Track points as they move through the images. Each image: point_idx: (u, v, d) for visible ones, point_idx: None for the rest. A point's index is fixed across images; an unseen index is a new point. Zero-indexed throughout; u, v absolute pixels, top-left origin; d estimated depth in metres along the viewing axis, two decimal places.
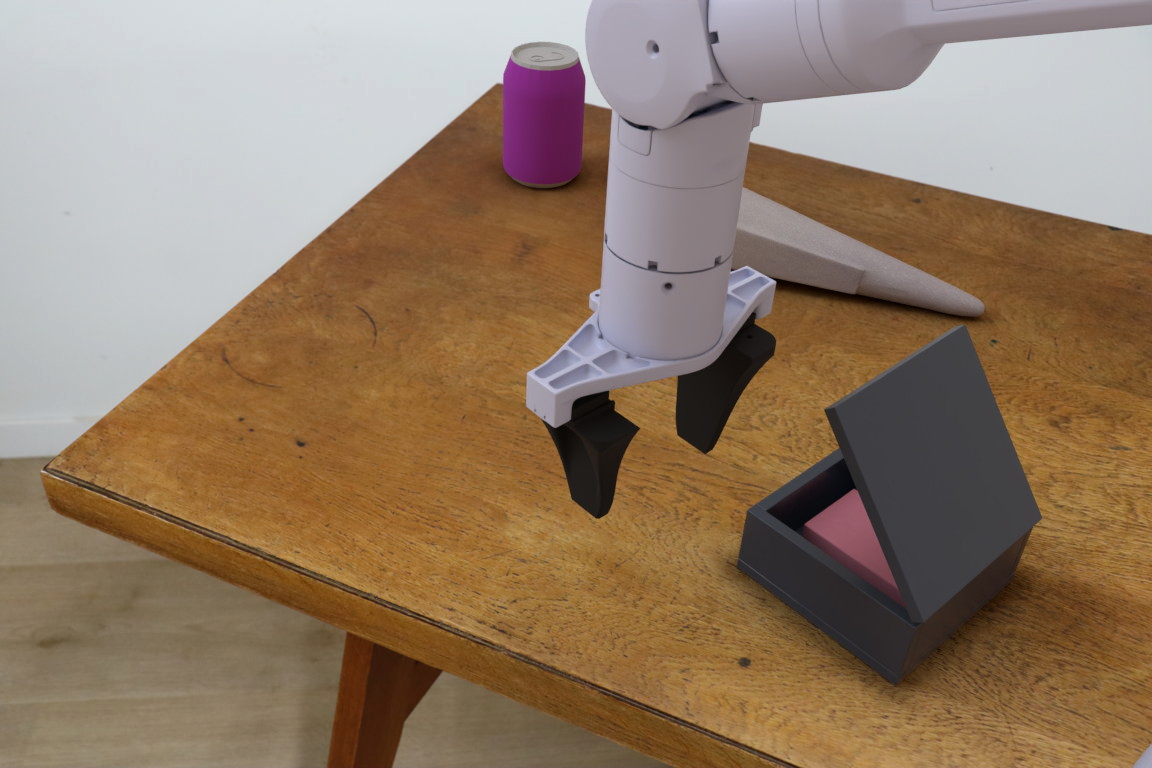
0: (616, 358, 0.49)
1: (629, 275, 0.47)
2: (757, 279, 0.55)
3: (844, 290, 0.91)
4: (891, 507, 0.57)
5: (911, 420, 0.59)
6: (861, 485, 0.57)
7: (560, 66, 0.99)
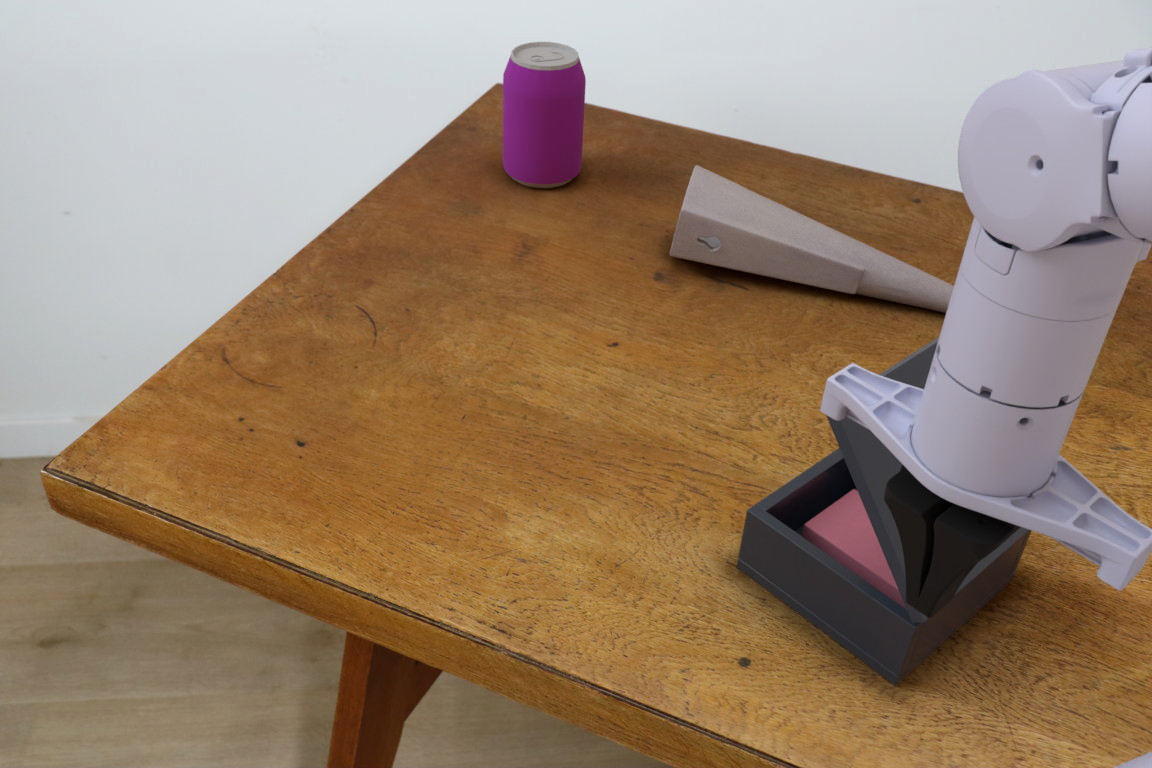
0: (910, 423, 0.48)
1: None
2: (1134, 542, 0.42)
3: (844, 290, 0.91)
4: None
5: None
6: (861, 485, 0.57)
7: (560, 66, 0.99)
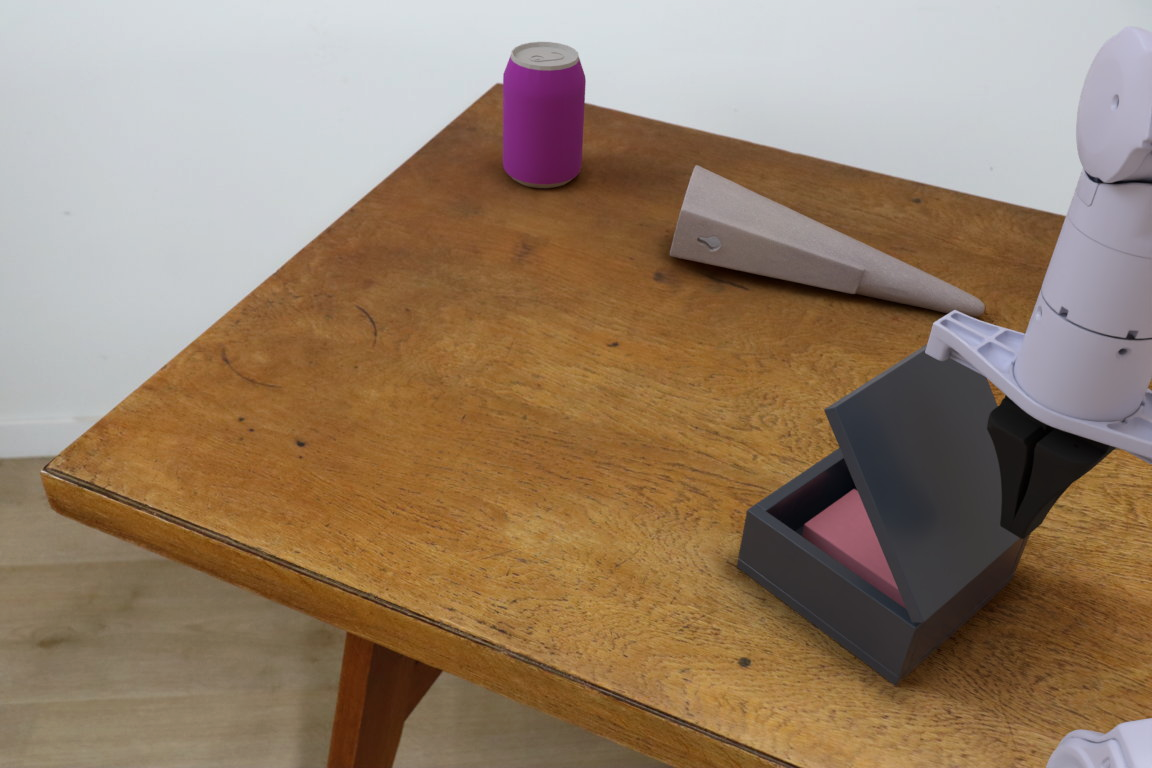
0: (1010, 361, 0.54)
1: None
2: None
3: (844, 290, 0.91)
4: (891, 507, 0.57)
5: (911, 420, 0.59)
6: (861, 485, 0.57)
7: (560, 66, 0.99)
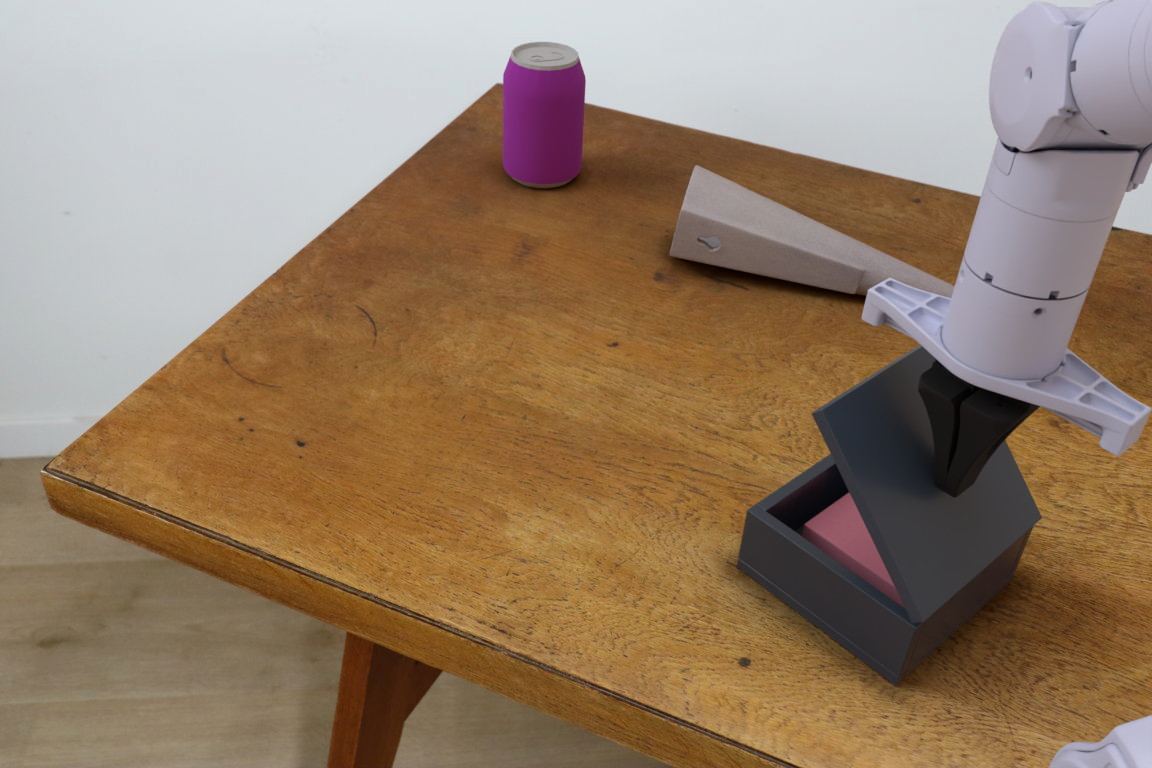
0: (940, 325, 0.56)
1: None
2: (1130, 414, 0.50)
3: (844, 290, 0.91)
4: (884, 507, 0.57)
5: (900, 422, 0.60)
6: (852, 486, 0.57)
7: (560, 66, 0.99)
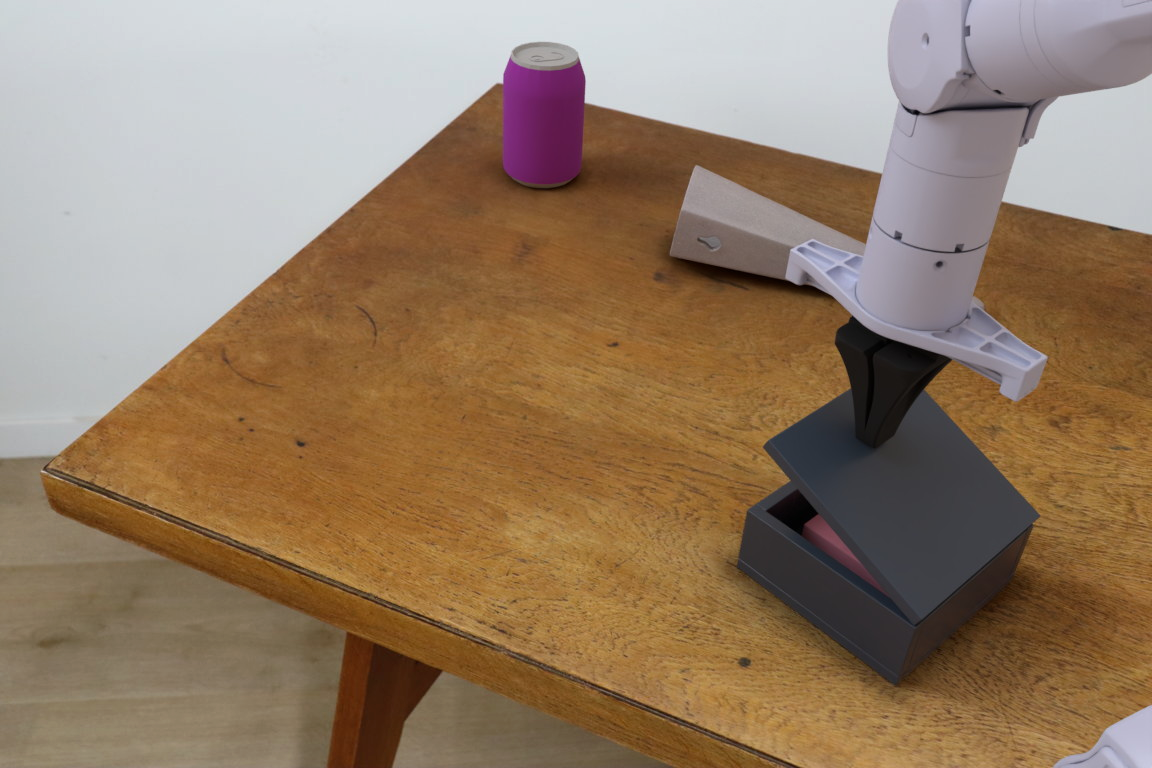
0: (856, 282, 0.59)
1: None
2: (1027, 362, 0.53)
3: None
4: (854, 518, 0.59)
5: (857, 443, 0.63)
6: (817, 504, 0.60)
7: (560, 66, 0.99)
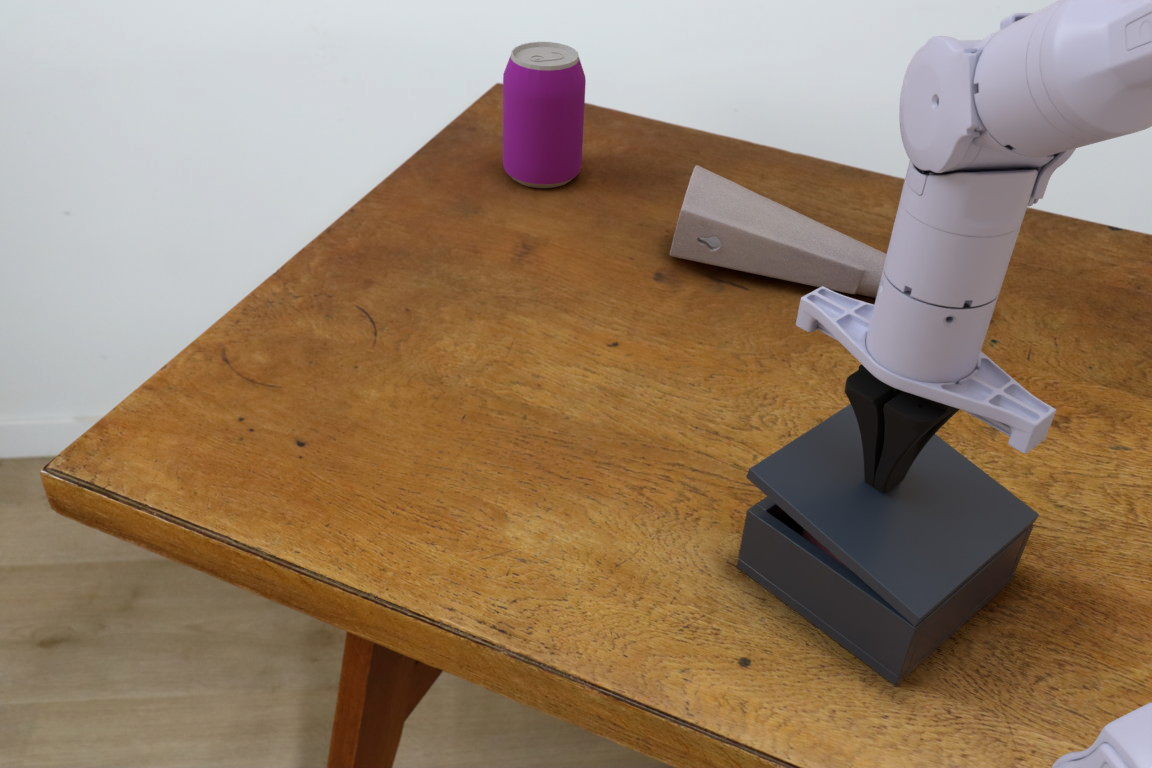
0: None
1: None
2: (1035, 415, 0.54)
3: (844, 290, 0.91)
4: (842, 531, 0.61)
5: (840, 464, 0.64)
6: (804, 522, 0.61)
7: (560, 66, 0.99)
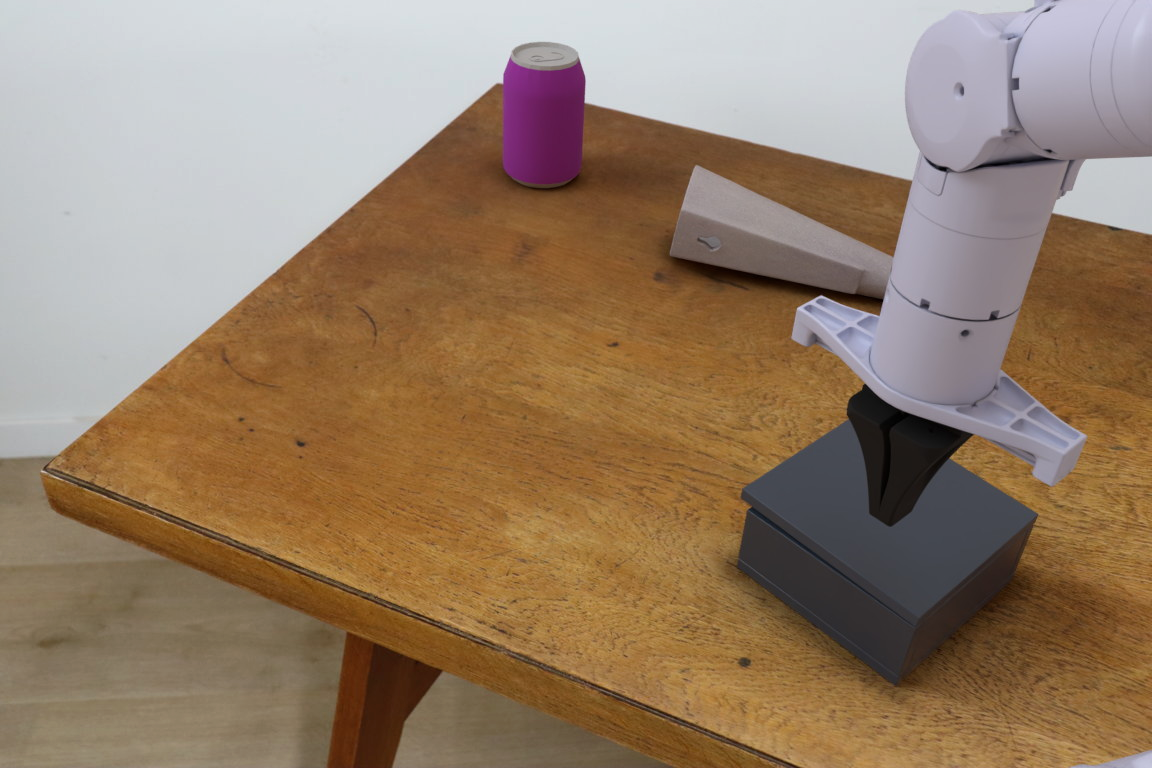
0: None
1: None
2: (1064, 442, 0.48)
3: (844, 290, 0.91)
4: (837, 540, 0.61)
5: (833, 479, 0.65)
6: (799, 535, 0.62)
7: (560, 66, 0.99)
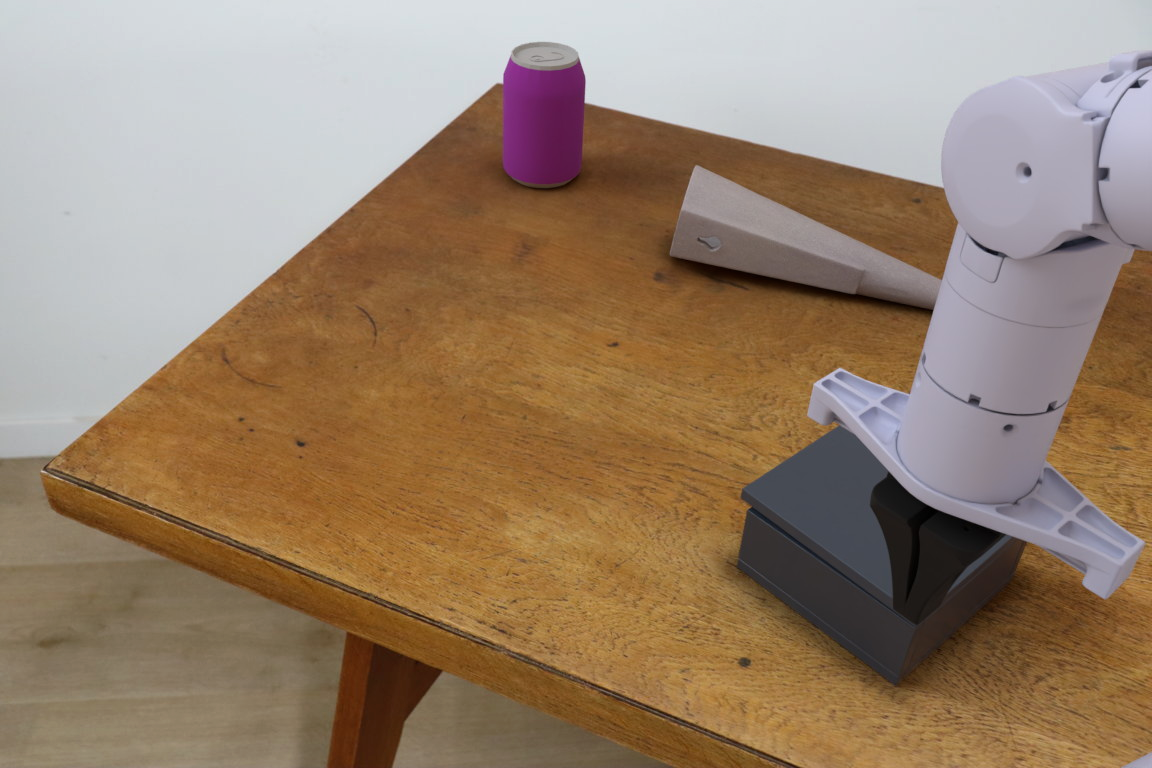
0: (896, 429, 0.48)
1: None
2: (1119, 550, 0.42)
3: (844, 290, 0.91)
4: (837, 540, 0.61)
5: (833, 479, 0.65)
6: (799, 535, 0.62)
7: (560, 66, 0.99)
